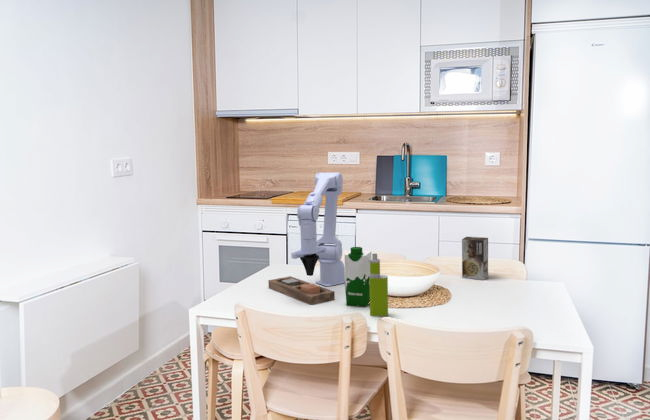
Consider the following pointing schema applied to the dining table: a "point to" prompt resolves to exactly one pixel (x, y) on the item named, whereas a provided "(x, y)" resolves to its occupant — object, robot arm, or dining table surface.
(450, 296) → the dining table surface
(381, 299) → the vape
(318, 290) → the salmon pink cube
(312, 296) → the brown ladder-shaped frame
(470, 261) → the coffee box
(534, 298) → the dining table surface
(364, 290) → the milk carton
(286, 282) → the silver metal block
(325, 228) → the robot arm
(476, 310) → the dining table surface
